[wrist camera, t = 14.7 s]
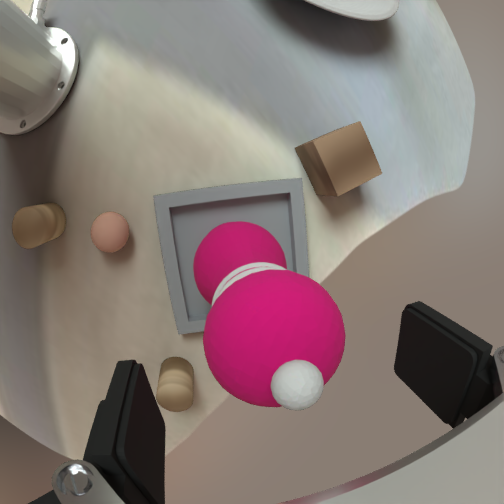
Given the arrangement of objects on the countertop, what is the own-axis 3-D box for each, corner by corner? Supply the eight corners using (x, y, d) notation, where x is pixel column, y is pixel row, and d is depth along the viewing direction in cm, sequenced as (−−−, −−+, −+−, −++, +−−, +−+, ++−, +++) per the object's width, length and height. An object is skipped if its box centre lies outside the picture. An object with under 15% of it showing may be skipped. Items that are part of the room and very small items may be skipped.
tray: (156, 195, 26) (153, 195, 24) (295, 178, 28) (301, 177, 26) (179, 325, 29) (178, 334, 27) (304, 305, 31) (310, 312, 29)
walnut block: (294, 148, 27) (313, 141, 22) (335, 129, 27) (360, 121, 23) (316, 194, 29) (337, 196, 24) (355, 174, 29) (382, 173, 24)
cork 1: (35, 206, 24) (9, 211, 19) (63, 199, 24) (39, 203, 20) (41, 241, 25) (16, 251, 20) (68, 235, 25) (46, 245, 20)
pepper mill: (286, 242, 28) (434, 345, 9) (245, 305, 29) (316, 476, 10) (220, 200, 26) (276, 242, 7) (179, 269, 27) (149, 435, 8)
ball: (95, 213, 25) (81, 217, 22) (130, 207, 26) (120, 210, 22) (101, 250, 26) (89, 259, 23) (136, 245, 27) (127, 253, 23)
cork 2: (157, 358, 29) (151, 386, 25) (189, 355, 30) (188, 382, 25) (165, 384, 30) (161, 413, 26) (196, 381, 31) (196, 410, 26)
